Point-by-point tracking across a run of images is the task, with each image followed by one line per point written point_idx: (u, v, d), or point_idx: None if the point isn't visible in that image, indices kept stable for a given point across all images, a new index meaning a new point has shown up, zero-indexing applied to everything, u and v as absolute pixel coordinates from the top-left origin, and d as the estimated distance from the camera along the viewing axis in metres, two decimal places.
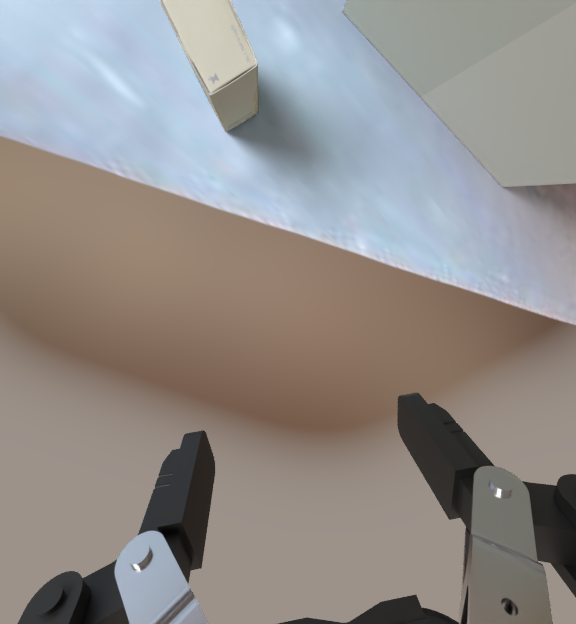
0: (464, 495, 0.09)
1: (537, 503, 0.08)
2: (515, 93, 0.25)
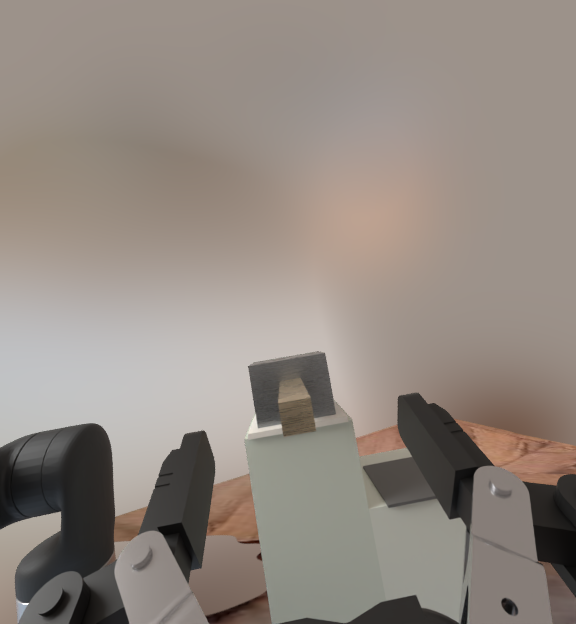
0: (464, 495, 0.09)
1: (537, 503, 0.08)
2: (425, 599, 0.31)
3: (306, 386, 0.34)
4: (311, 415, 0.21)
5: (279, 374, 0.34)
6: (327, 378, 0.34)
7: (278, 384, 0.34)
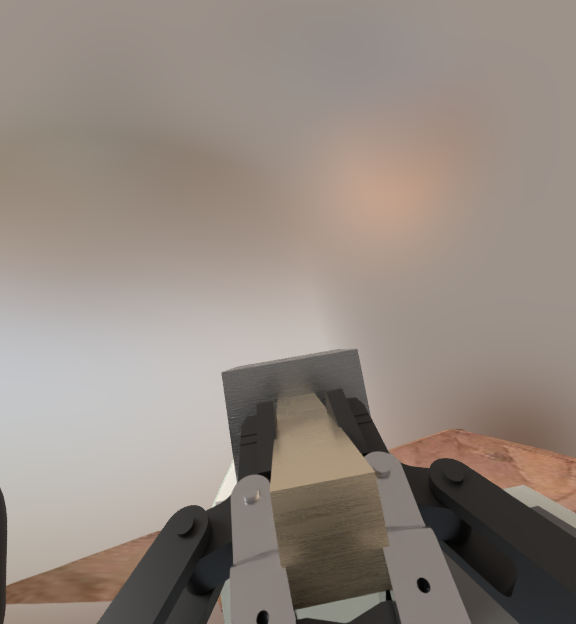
0: None
1: (413, 484, 0.09)
2: None
3: None
4: (380, 533, 0.06)
5: (277, 387, 0.19)
6: (362, 394, 0.19)
7: (275, 405, 0.19)
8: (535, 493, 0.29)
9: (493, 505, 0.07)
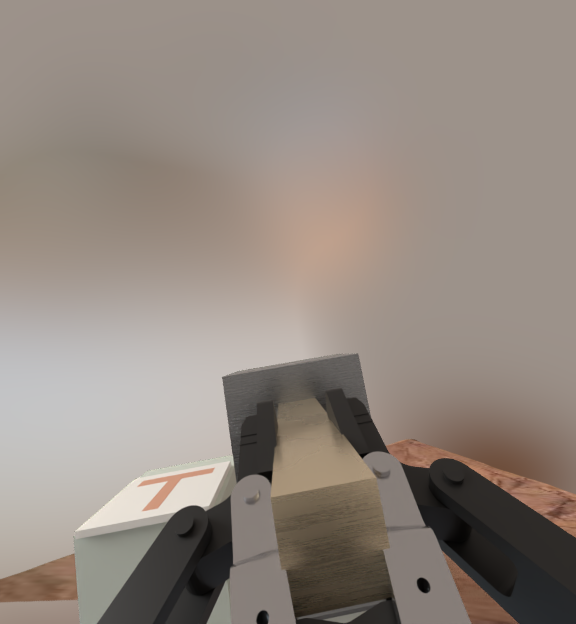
0: None
1: (413, 484, 0.09)
2: None
3: None
4: (381, 540, 0.06)
5: (278, 392, 0.19)
6: (363, 399, 0.19)
7: (275, 410, 0.19)
8: None
9: (493, 505, 0.07)
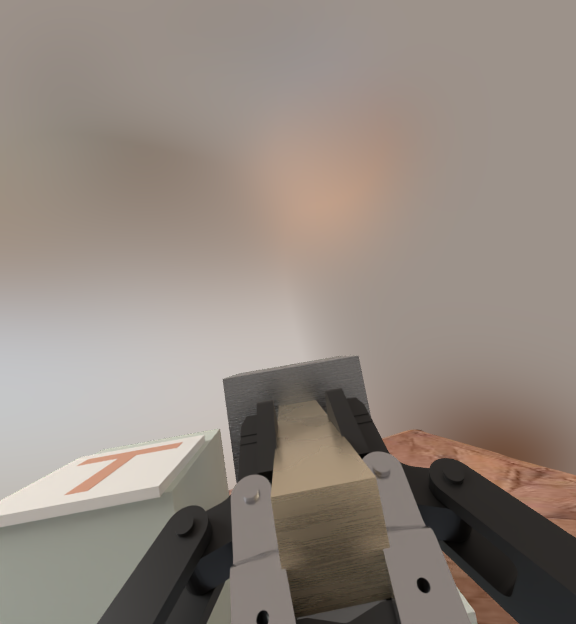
0: None
1: (413, 484, 0.09)
2: None
3: None
4: (381, 539, 0.06)
5: (278, 394, 0.19)
6: (363, 401, 0.19)
7: (276, 412, 0.19)
8: None
9: (493, 505, 0.07)
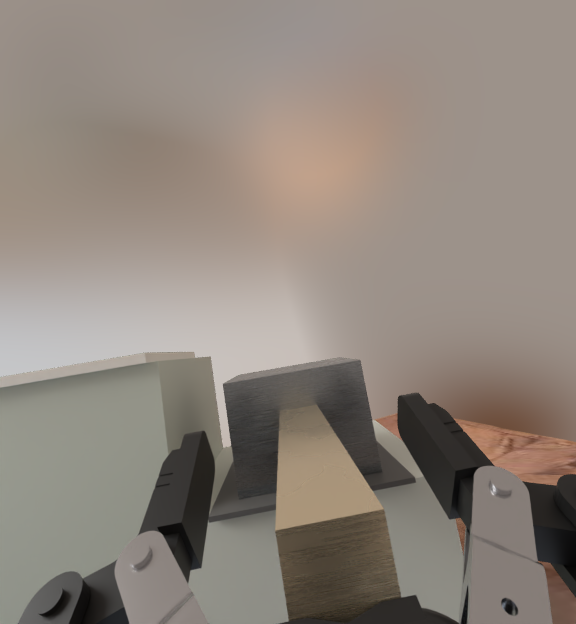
0: (464, 495, 0.09)
1: (537, 503, 0.08)
2: None
3: (327, 420, 0.19)
4: (389, 574, 0.06)
5: (279, 399, 0.19)
6: (365, 406, 0.19)
7: (277, 417, 0.19)
8: (376, 424, 0.29)
9: None
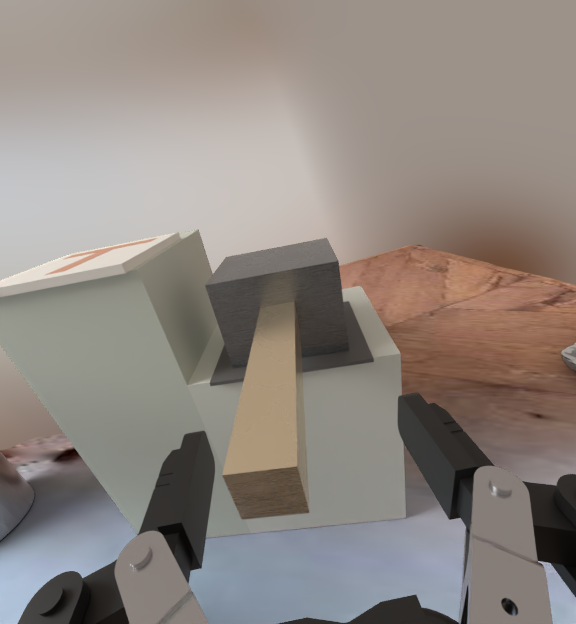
0: (464, 495, 0.09)
1: (537, 503, 0.08)
2: None
3: (304, 314, 0.21)
4: (299, 492, 0.10)
5: (259, 297, 0.20)
6: (339, 302, 0.20)
7: (258, 312, 0.21)
8: (361, 292, 0.32)
9: None
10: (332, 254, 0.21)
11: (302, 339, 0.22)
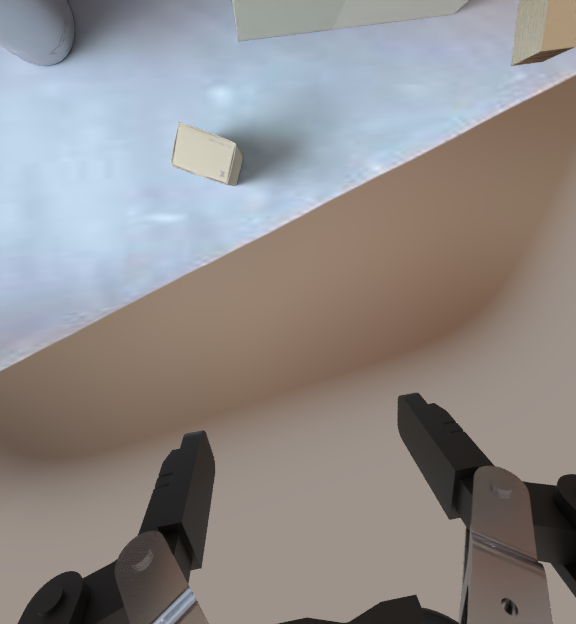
0: (464, 495, 0.09)
1: (537, 503, 0.08)
2: None
3: None
4: (554, 55, 0.20)
5: None
6: None
7: None
8: None
9: None
10: None
11: None
